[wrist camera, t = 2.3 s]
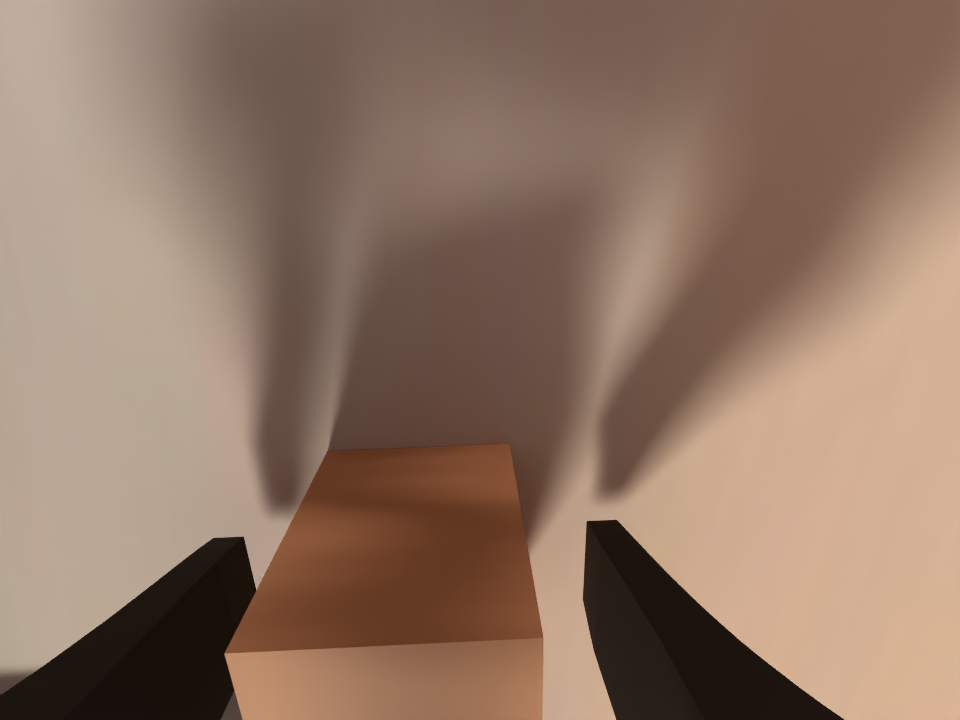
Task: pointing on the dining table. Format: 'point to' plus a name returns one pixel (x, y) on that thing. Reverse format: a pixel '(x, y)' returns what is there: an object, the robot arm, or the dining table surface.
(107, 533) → the dining table surface
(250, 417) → the dining table surface
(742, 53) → the dining table surface
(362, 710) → the terracotta block
